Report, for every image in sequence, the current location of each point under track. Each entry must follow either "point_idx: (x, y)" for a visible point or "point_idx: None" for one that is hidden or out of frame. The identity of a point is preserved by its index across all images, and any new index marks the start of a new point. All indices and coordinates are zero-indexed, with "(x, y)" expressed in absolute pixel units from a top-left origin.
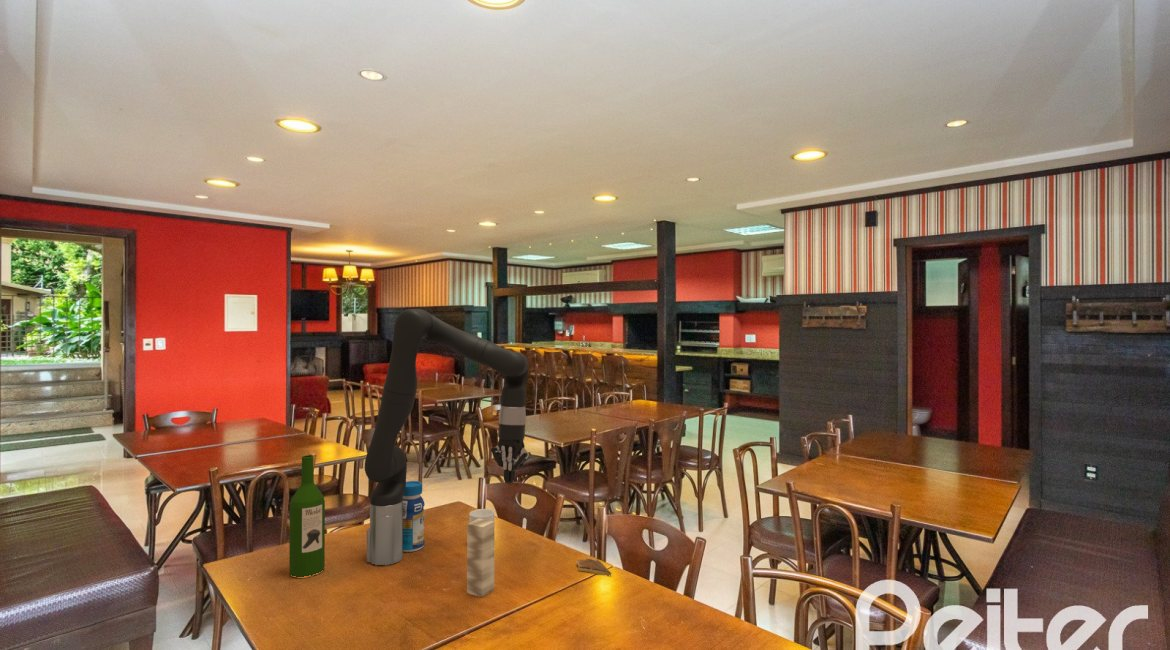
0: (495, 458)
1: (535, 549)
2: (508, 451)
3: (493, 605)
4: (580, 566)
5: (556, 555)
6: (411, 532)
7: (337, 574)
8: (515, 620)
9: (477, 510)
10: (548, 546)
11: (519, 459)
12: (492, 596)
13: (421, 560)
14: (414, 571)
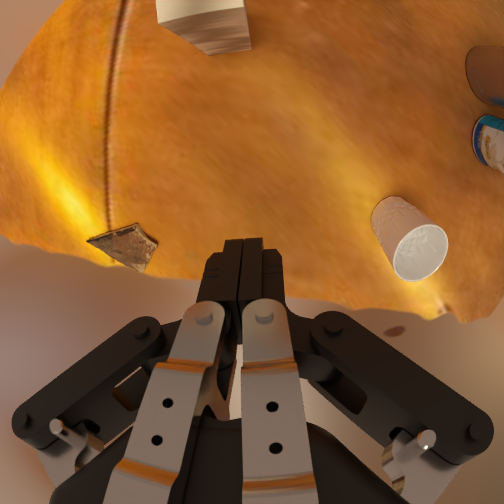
0: (409, 365)
1: None
2: (170, 487)
3: None
4: (134, 232)
5: None
6: (502, 129)
7: (491, 7)
8: (97, 19)
9: (438, 263)
10: None
11: (74, 393)
12: None
13: (442, 94)
14: (417, 44)
